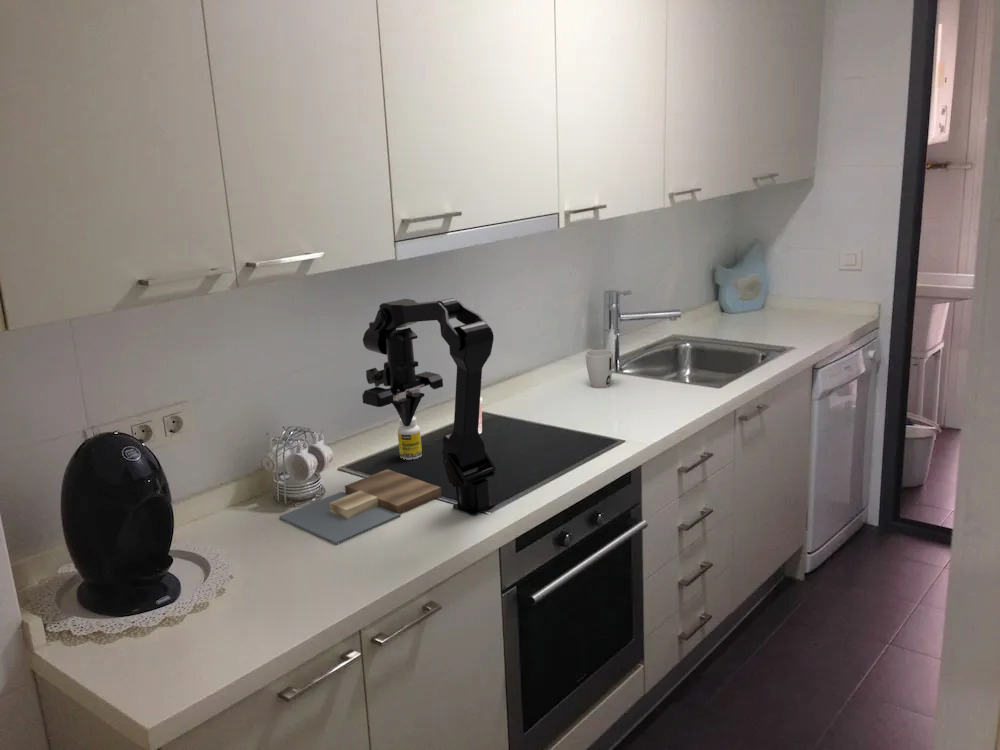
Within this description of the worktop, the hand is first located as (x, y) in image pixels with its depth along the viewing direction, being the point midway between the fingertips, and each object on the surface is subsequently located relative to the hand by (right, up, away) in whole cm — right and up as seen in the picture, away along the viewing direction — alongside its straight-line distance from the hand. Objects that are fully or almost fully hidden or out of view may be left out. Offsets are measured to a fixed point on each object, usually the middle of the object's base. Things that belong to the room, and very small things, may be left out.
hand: (406, 425), depth 199 cm
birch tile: (-10, -16, -11) cm, 22 cm away
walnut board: (-3, -15, -4) cm, 16 cm away
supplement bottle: (-1, -9, +19) cm, 20 cm away
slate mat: (-13, -18, -14) cm, 26 cm away
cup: (+50, +8, +67) cm, 84 cm away
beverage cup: (+14, -4, +33) cm, 36 cm away
